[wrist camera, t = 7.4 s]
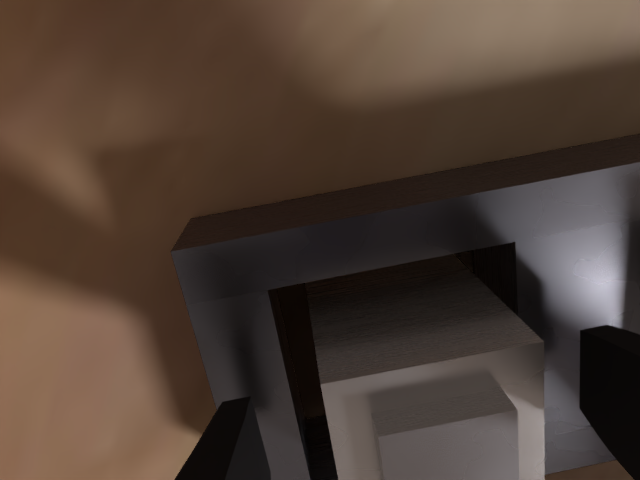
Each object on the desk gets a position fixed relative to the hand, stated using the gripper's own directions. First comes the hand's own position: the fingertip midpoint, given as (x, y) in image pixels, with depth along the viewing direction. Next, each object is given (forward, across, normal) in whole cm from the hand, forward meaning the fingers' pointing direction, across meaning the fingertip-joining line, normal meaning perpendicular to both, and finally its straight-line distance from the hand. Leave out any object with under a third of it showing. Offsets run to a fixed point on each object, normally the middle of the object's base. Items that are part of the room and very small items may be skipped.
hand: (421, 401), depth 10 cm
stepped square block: (+4, 0, 0) cm, 4 cm away
